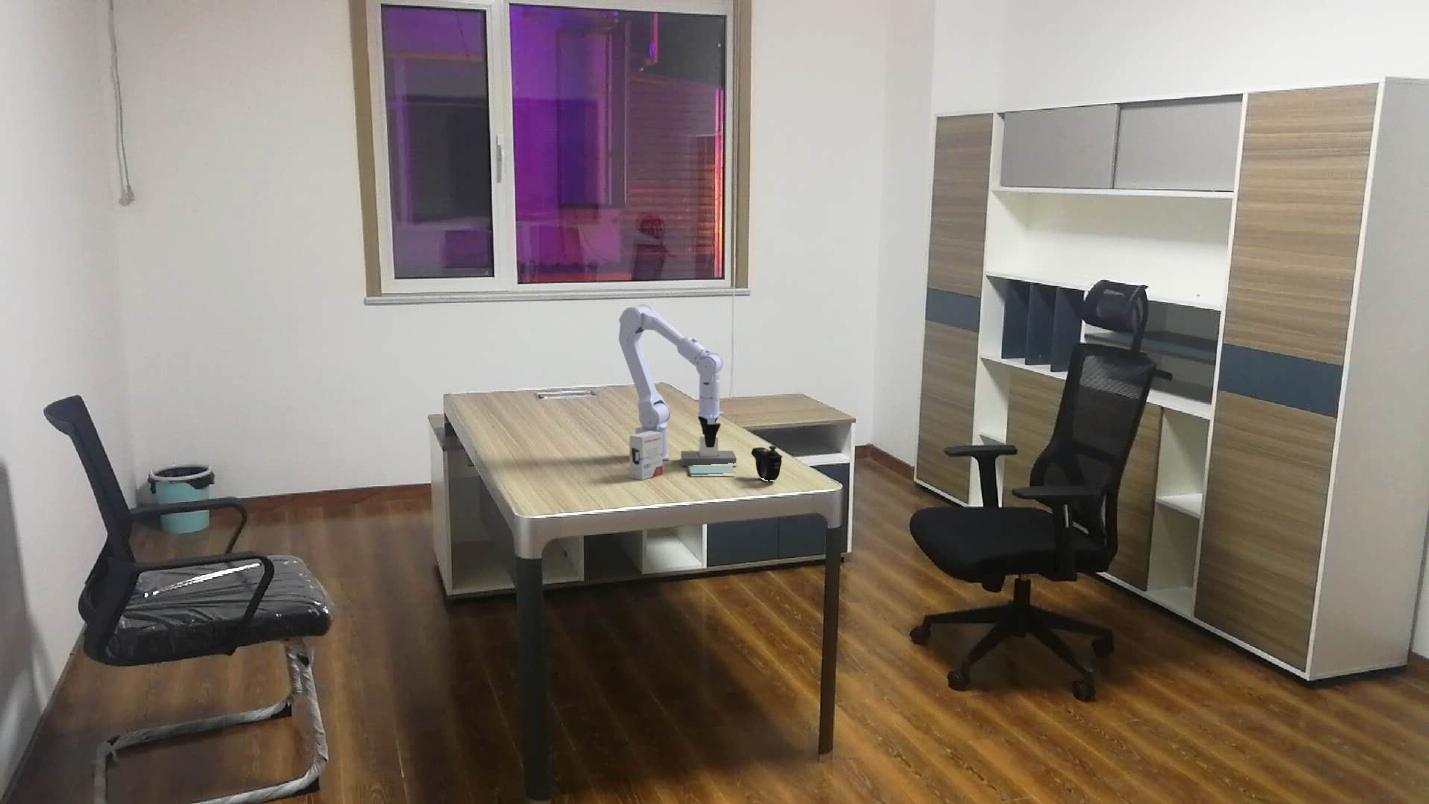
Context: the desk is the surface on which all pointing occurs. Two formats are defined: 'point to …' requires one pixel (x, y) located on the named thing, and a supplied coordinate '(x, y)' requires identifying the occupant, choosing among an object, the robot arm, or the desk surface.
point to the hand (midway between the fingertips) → (708, 444)
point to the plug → (707, 451)
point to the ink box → (646, 455)
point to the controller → (767, 462)
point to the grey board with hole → (707, 458)
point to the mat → (710, 470)
